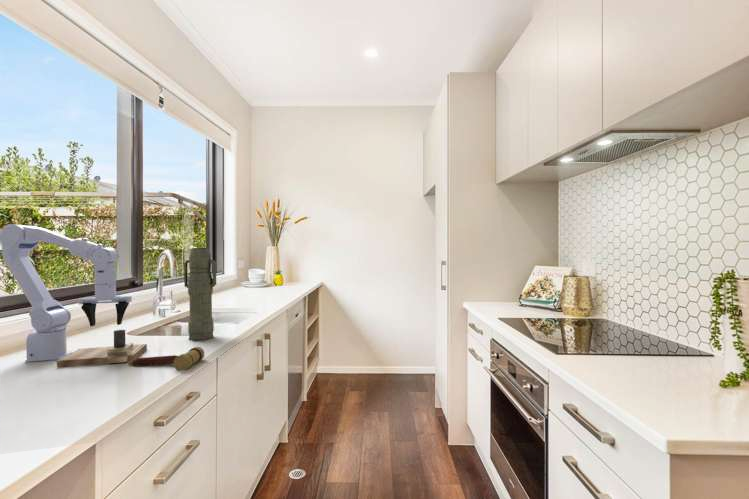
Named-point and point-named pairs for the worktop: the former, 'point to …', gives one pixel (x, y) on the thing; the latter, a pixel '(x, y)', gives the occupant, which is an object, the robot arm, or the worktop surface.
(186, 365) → the gavel
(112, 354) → the rubber stamp
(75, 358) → the board
